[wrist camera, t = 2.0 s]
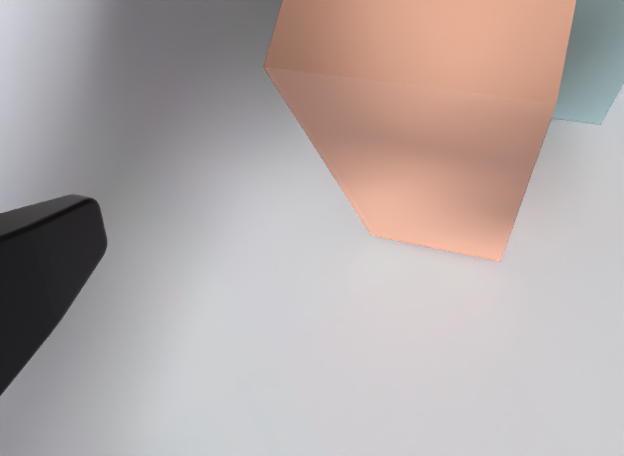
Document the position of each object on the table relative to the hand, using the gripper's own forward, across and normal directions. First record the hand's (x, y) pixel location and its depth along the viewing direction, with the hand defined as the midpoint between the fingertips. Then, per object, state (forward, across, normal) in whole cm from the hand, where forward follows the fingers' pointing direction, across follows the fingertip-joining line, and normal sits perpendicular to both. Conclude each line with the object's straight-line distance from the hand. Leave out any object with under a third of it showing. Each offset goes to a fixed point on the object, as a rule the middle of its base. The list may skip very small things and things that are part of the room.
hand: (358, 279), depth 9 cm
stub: (+12, 0, +5) cm, 13 cm away
